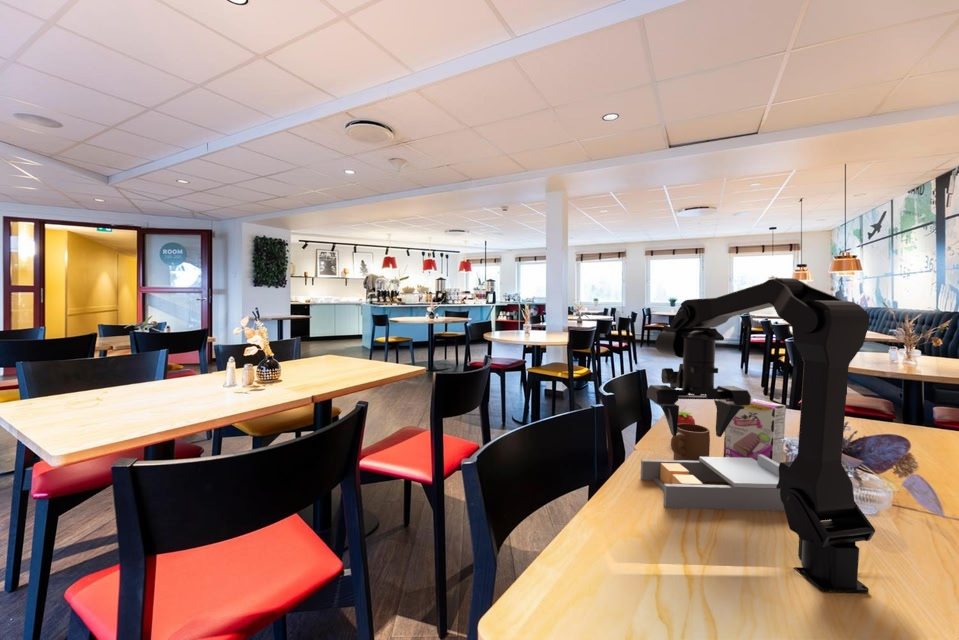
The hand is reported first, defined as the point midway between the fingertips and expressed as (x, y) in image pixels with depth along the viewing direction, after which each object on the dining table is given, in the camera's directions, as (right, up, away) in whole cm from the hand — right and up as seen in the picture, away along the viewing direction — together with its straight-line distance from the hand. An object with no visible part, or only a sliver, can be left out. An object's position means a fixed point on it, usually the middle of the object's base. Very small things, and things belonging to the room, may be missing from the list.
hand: (696, 436), depth 84 cm
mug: (+4, -12, +13) cm, 18 cm away
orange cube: (-4, -11, +1) cm, 12 cm away
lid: (+8, -7, -2) cm, 11 cm away
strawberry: (+13, -11, +31) cm, 36 cm away
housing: (+2, -12, -2) cm, 12 cm away
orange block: (-4, -11, -4) cm, 13 cm away
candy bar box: (+20, -12, +13) cm, 27 cm away
